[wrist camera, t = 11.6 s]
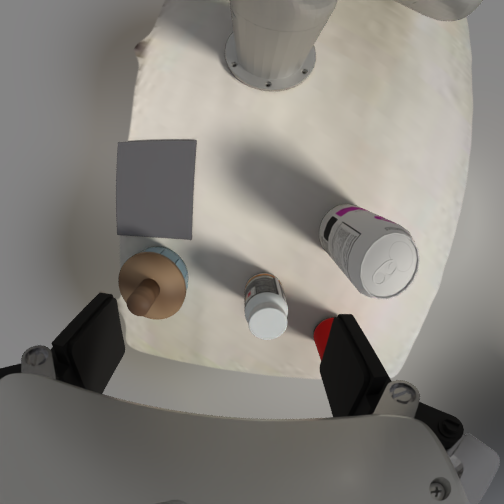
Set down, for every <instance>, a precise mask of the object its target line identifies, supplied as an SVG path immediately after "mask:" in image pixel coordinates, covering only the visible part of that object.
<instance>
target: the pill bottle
mask: <svg viewBox="0 0 504 504" xmlns="http://www.w3.org/2000/svg"><path fill="white" fill-rule="evenodd" d="M287 315H288V306H287V302H286V299H285V295H284V291H283V287H282V285H281V282H280V281H279V280H278V278H276V277H275V276H274V275H271V274H268V273H260V274H257V275H254V276H253V277H252V278H250V279H249V281H248V282H247V284H246V287H245V317H246V320H247V322H248V324H249V329H250V331H251V333H252V334H253V335H254V336H256V337H258V338H260V339H264V340H270V339H274V338H277V337H279V336H280V335H282V334H283V333H284V331H285V330H286V327H287Z"/></svg>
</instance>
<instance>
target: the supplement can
mask: <svg viewBox="0 0 504 504" xmlns="http://www.w3.org/2000/svg"><path fill="white" fill-rule="evenodd" d="M319 239H320V242H321V245H322V247H323V249H324V250H325V251H326V252H327V253H328V254H329V256H330V257H331V258H332V259H333V260H334V262H335V263H336V264H337V265H338V266H339V268H340V269H341V270H342V271H343V272H344V274H345V275H346V276H347V277H348V279H349V280H350V281H351V282H352V284H353V285H354V286H355V287H356V288H357V290H358V291H359V292H360V293H362V294H364V295H366V296H368V297H371V298H377V299H390V298H393V297H396V296H398V295H399V294H401V293H402V292H403V291H405V290H406V289H407V288H408V287H409V285H410V284H411V283H412V282H413V280H414V278H415V276H416V273H417V271H418V266H419V253H418V248H417V247H416V245H415V241H414V240H413V238H412V236H411V235H410V233H409V231H407V230H406V229H405V228H403V227H402V226H400V225H399V224H396V223H394V222H392V221H390V220H388V219H385V218H383V217H381V216H379V215H376V214H374V213H372V212H370V211H367V210H365V209H363V208H360V207H358V206H355V205H350V204H344V205H339V206H336V207H335V208H333V209H331V210H330V211H329V212H328V213H327V214H326V215H325V217H324V218H323V219H322V222H321V225H320V228H319Z"/></svg>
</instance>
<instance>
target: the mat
mask: <svg viewBox="0 0 504 504" xmlns="http://www.w3.org/2000/svg"><path fill="white" fill-rule="evenodd" d="M196 144H197V141H196V140H161V141H134V142H118V153H117V176H116V213H117V214H116V217H117V234H118V235H128V236H144V237H159V238H174V239H188V240H192V215H193V191H194V172H195V157H196Z"/></svg>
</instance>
